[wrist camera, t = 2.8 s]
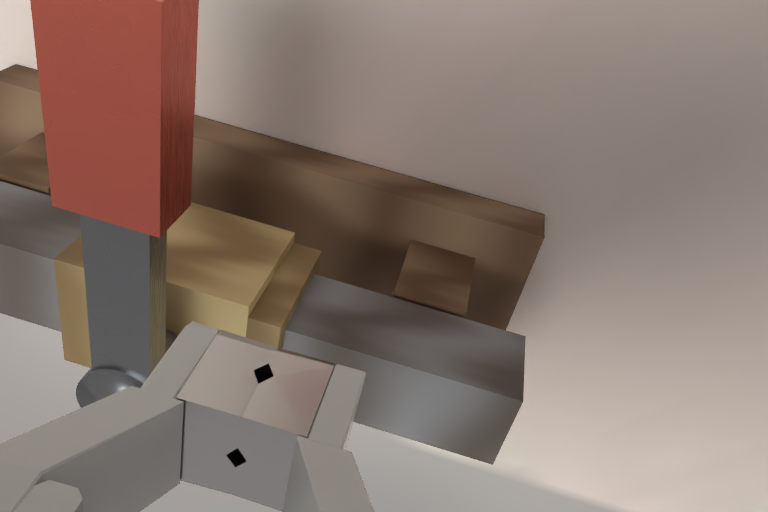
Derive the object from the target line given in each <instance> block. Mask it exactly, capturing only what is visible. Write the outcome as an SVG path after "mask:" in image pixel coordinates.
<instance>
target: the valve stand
mask: <svg viewBox="0 0 768 512" xmlns="http://www.w3.org/2000/svg"><path fill="white" fill-rule="evenodd" d="M543 239H544V215H542V214H539V213H535V212H532V211H528V210H525V209H521V208H518V207H514V206H511V205H507V204H504V203H500V202H497V201H493V200H490V199H486V198H483V197H479V196H476V195H472V194H469V193H465V192H462V191H458V190H455V189H451V188H448V187H444V186H441V185H437V184H434V183H430V182H427V181H423V180H420V179H416V178H413V177H409V176H406V175H402V174H399V173H395V172H392V171H388V170H385V169H381V168H378V167H374V166H371V165H367V164H363V163H360V162H356V161H353V160H349V159H346V158H342V157H339V156H335V155H332V154H328V153H325V152H321V151H318V150H314V149H311V148H307V147H304V146H300V145H297V144H293V143H290V142H286V141H283V140H279V139H276V138H272V137H269V136H265V135H262V134H258V133H255V132H251V131H248V130H244V129H241V128H237V127H234V126H230V125H227V124H223V123H220V122H216V121H213V120H209V119H206V118H202V117H199V116H195V115H194V135H193V161H192V187H191V206H190V207H189V208H188V209H187V210H186V211H185V212H184V213H183V214H182V215H181V216H180V217H179V218H178V219H177V220H176V221H175V222H174V223H173V225H172V226H171V227H170V228H169V229H168V230H167V270H166V341H165V353H166V352H167V351H168V349H169V348H170V347H171V345H172V344H173V342H174V341H175V340H176V338H177V337H178V335H179V334H180V333H181V331H182V330H183V329H184V327H185V326H186V325H188V324H189V323H191V322H192V321H194V322H197V323H200V324H204V325H207V326H210V327H213V328H216V329H219V330H224V331H227V332H231V333H234V334H237V335H240V336H243V337H246V338H249V339H252V340H256V341H259V342H262V343H265V344H268V345H271V346H274V347H277V348H282V349H286V350H289V351H293V352H296V353H300V354H303V355H307V356H310V357H314V358H317V359H321V360H324V361H328V362H331V363H335V364H336V365H337V364H339V365H343V366H346V367H350V368H353V369H357V370H361V371H364V372H365V373H366V377H365V381H364V384H363V388H362V392H361V395H360V399H359V403H358V406H357V410H356V414H355V417H354V421H353V422H356V423H359V424H363V425H366V426H369V427H372V428H376V429H379V430H382V431H385V432H389V433H392V434H395V435H398V436H402V437H405V438H408V439H411V440H415V441H418V442H421V443H424V444H427V445H431V446H434V447H437V448H440V449H444V450H447V451H450V452H453V453H457V454H460V455H463V456H466V457H470V458H473V459H476V460H479V461H483V462H486V463H489V464H492V465H493V463H494V461H495V459H496V456H497V454H498V452H499V450H500V448H501V446H502V444H503V442H504V440H505V438H506V436H507V434H508V432H509V430H510V427H511V425H512V423H513V421H514V419H515V417H516V415H517V413H518V411H519V409H520V407H521V405H522V403H523V387H524V361H525V336H522V335H519V334H515V333H512V332H509V331H505V330H506V328H507V325H508V323H509V320H510V318H511V316H512V313H513V311H514V309H515V306H516V304H517V301H518V299H519V297H520V294H521V292H522V289H523V287H524V285H525V282H526V280H527V278H528V275H529V273H530V270H531V268H532V266H533V263H534V261H535V259H536V256H537V254H538V251H539V249H540V247H541V244H542V242H543ZM0 313H2V314H6V315H9V316H12V317H15V318H18V319H22V320H25V321H28V322H32V323H35V324H38V325H42V326H44V327H48V328H51V329H54V330H58V331H61V332H62V340H63V349H64V358H65V360H67V361H70V362H74V363H77V364H80V365H83V366H87V367H90V368H91V367H92V365H91V352H90V340H89V327H88V314H87V301H86V288H85V275H84V262H83V249H82V237H81V224H80V214H78V213H74V212H71V211H68V210H64V209H61V208H57V207H54V206H52V199H51V190H50V180H49V171H48V162H47V152H46V143H45V133H44V124H43V114H42V105H41V95H40V86H39V76H38V71H37V70H34V69H30V68H27V67H23V66H20V65H16V64H15V65H13V66H11V67H9V68H6V69H4V70H2V71H0Z"/></svg>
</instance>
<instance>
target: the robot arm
mask: <svg viewBox="0 0 768 512" xmlns="http://www.w3.org/2000/svg"><path fill="white" fill-rule="evenodd" d="M365 377H366V373H365V372H364V371H361V370H357V369H353V368H350V367H346V366H343V365H339V364H337V365H336V364H335V363H331V362H328V361H324V360H321V359H317V358H314V357H310V356H307V355H303V354H300V353H296V352H293V351H289V350H286V349H282V348H277V347H274V346H271V345H268V344H265V343H262V342H259V341H256V340H252V339H249V338H246V337H243V336H240V335H237V334H234V333H231V332H227V331H224V330H219V329H216V328H213V327H210V326H207V325H204V324H200V323H197V322H194V321H192V322H191V323H189V324H188V325H186V326H185V327H184V329H183V330H182V331H181V333H180V334H179V335H178V337H177V338H176V340H175V341H174V342H173V344H172V345H171V347H170V348H169V349H168V351H167V352H166V353H165V355H164V356H163V358H162V359H161V360H160V362H159V363H158V365H157V366H156V367H155V369H154V370H153V371H152V373H151V374H150V376H149V377H148V378H147V380H146V381H145V383H144V384H143V385H142V387H141V388H137V387H134V386H130V387H128V388H126V389H123V390H121V391H119V392H117V393H114V394H112V395H110V396H108V397H105V398H103V399H101V400H98V401H96V402H94V403H92V404H89V405H87V406H85V407H83V408H80V409H78V410H76V411H74V412H71V413H69V414H67V415H65V416H62V417H60V418H58V419H56V420H54V421H51V422H49V423H47V424H44V425H42V426H40V427H37V428H35V429H33V430H31V431H29V432H26V433H24V434H22V435H20V436H17V437H15V438H13V439H10V440H8V441H6V442H4V443H2V444H0V512H140V511H141V510H143V509H144V508H145V507H147V506H148V505H150V504H151V503H153V502H154V501H155V500H157V499H158V498H160V497H161V496H163V495H164V494H165V493H167V492H168V491H170V490H171V489H173V488H174V487H175V486H177V485H178V484H180V480H181V481H185V482H189V483H192V484H196V485H200V486H203V487H207V488H210V489H214V490H218V491H222V492H225V493H229V494H232V495H235V496H238V497H241V498H244V499H247V500H250V501H253V502H256V503H259V504H262V505H265V506H268V507H271V508H274V509H277V510H280V511H282V512H374V510H373V507H372V505H371V502H370V499H369V497H368V494H367V491H366V488H365V486H364V483H363V480H362V478H361V475H360V472H359V470H358V467H357V465H356V462H355V459H354V457H353V454H352V452H350V451H347V450H346V447H347V443H348V440H349V436H350V432H351V428H352V424H353V421H354V417H355V414H356V410H357V406H358V403H359V399H360V395H361V392H362V388H363V384H364V381H365Z"/></svg>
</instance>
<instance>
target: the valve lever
mask: <svg viewBox="0 0 768 512" xmlns="http://www.w3.org/2000/svg"><path fill="white" fill-rule="evenodd" d="M30 1H31V10H32V20H33V29H34V39H35V48H36V57H37V67H38V76H39V86H40V95H41V105H42V114H43V124H44V133H45V143H46V152H47V162H48V171H49V180H50V190H51V199H52V206H54V207H57V208H61V209H64V210H68V211H71V212H74V213H78V214H80V224H81V237H82V249H83V262H84V275H85V288H86V301H87V314H88V327H89V340H90V352H91V365H92V367H91V369H90V370H89V371H88V372H87V373H86V374H85V376H84V377H83V378H82V379H81V380H80V382H79V383H78V385H77V388H76V396H77V400H78V402H79V405H80V407H81V408H83V407H85V406H87V405H89V404H92V403H94V402H96V401H98V400H101V399H103V398H105V397H108V396H110V395H112V394H114V393H117V392H119V391H121V390H123V389H126V388H128V387H130V386H134V387H137V388H141V387H142V385H143V384H144V383H145V381H146V380H147V378H148V377H149V376H150V374H151V373H152V371H153V370H154V369H155V367H156V366H157V365H158V363H159V362H160V360H161V359H162V358H163V356H164V355H165V341H166V270H167V230H168V229H169V228H170V227H171V226H172V225H173V223H174V222H175V221H176V220H177V219H178V218H179V217H180V216H181V215H182V214H183V213H184V212H185V211H186V210H187V209H188V208H189V207H190V206H191V187H192V161H193V135H194V109H195V83H196V57H197V31H198V5H199V0H30Z"/></svg>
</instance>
